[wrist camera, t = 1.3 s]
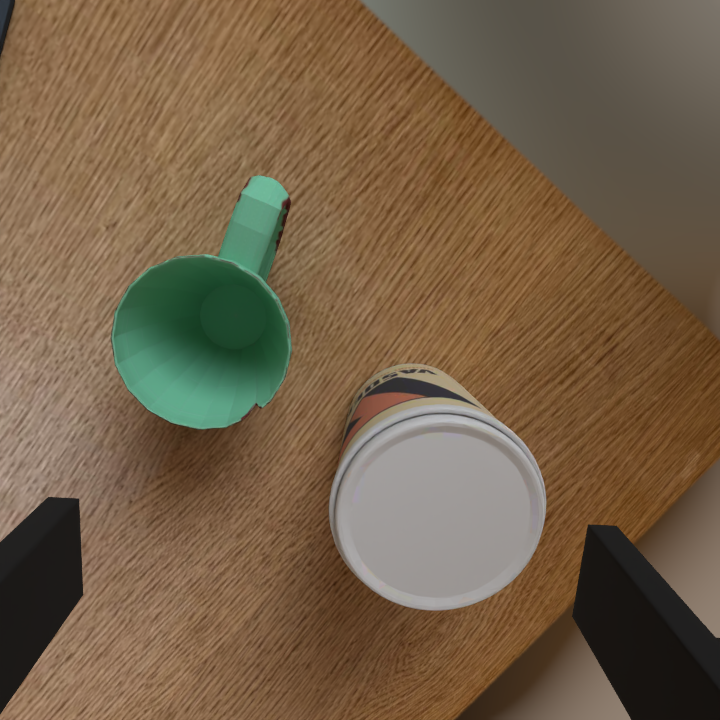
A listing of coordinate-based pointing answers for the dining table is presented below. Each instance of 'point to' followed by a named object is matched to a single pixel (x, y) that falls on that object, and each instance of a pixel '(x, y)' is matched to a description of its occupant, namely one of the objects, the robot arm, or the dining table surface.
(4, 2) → the place mat
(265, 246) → the mug
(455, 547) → the coffee cup
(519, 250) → the dining table surface
